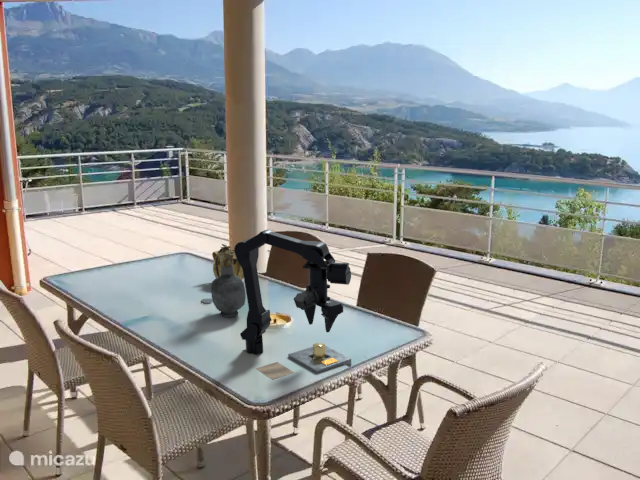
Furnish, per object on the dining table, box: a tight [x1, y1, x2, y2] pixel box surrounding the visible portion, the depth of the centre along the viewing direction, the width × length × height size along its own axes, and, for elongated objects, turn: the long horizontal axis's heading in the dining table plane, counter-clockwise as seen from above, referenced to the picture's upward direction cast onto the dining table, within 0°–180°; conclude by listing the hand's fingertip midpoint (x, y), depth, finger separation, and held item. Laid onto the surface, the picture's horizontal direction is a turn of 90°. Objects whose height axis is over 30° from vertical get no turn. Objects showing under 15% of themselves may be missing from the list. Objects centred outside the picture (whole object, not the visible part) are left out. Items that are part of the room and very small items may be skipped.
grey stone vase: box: [210, 243, 247, 318], centre depth 226 cm, size 11×19×30 cm, turn 34°
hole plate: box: [287, 345, 352, 375], centre depth 179 cm, size 16×14×2 cm
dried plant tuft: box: [211, 250, 244, 281], centre depth 273 cm, size 22×17×15 cm
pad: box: [255, 361, 295, 381], centre depth 172 cm, size 10×8×1 cm
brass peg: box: [312, 342, 326, 361], centre depth 179 cm, size 4×4×6 cm
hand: (319, 328), depth 177 cm, fingers open, 9 cm apart
